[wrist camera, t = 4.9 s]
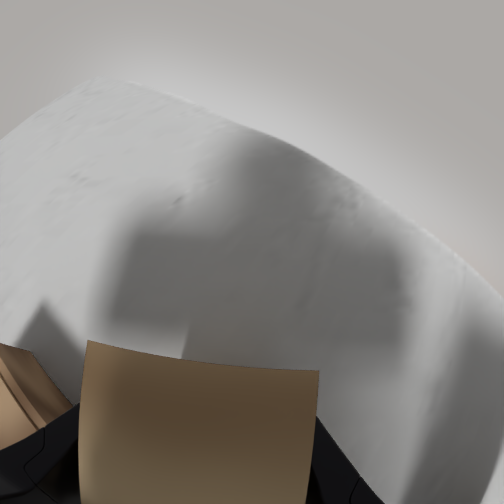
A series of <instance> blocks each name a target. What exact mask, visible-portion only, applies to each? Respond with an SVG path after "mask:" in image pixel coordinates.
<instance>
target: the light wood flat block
mask: <svg viewBox="0 0 504 504" xmlns="http://www.w3.org/2000/svg"><path fill="white" fill-rule="evenodd" d="M72 407H73V405H72V404H71V403H70V402H69V401H68V400H67V399H66V397H65V396H64V395H63V394H62V393H61V392H60V390H59V389H58V388H57V387H56V385H55V384H54V383H53V382H52V380H51V379H50V378H49V377H48V375H47V374H46V373H45V371H44V370H43V369H42V367H41V366H40V365H39V363H38V362H37V360H36V359H35V358H34V356H33V355H32V353H31V352H30V351H26V350H23V349H19V348H15V347H12V346H8V345H5V344H1V343H0V450H1V449H4V448H6V447H8V446H10V445H12V444H14V443H16V442H18V441H20V440H22V439H24V438H26V437H28V436H29V435H31V434H33V433H34V432H36V431H37V430H39V429H40V428H42V427H45V425H47V424H48V423H50V422H51V421H53V420H54V419H56V418H57V417H59V416H60V415H62V414H63V413H65V412H66V411H68V410H69V409H71V408H72Z"/></svg>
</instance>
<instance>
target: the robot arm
mask: <svg viewBox="0 0 504 504" xmlns="http://www.w3.org/2000/svg"><path fill="white" fill-rule="evenodd" d="M79 413H80V403H78V404H77V405H75V406H74V407H72V408H71V409H69V410H68V411H66V412H65V413H63V414H62V415H60V416H59V417H57V418H56V419H54V420H53V421H51V422H50V423H48V424H47V425H45V427H42V428H40V429H39V430H37V431H36V432H34V433H33V434H31V435H29V436H28V437H26V438H24V439H22V440H20V441H18V442H16V443H14V444H12V445H10V446H8V447H6V448H4V449H1V450H0V504H81V496H80V483H79V457H78V440H79ZM305 504H385V503H384V502H383V501H382V500H381V499H380V498H379V497H378V496H377V495H376V494H375V493H374V492H373V491H372V489H371V488H370V487H369V486H368V485H367V483H366V482H365V481H364V479H363V478H362V477H360V474H359V473H358V472H357V470H356V469H355V468H354V466H353V465H352V464H351V463H350V461H349V460H348V459H347V457H346V456H345V455H344V453H343V452H342V450H341V449H340V448H339V446H338V445H337V444H336V442H335V441H334V440H333V438H332V437H331V435H330V434H329V433H328V431H327V430H326V429H325V427H324V426H323V424H322V423H321V422H320V420H319V419H318V417H317V416H316V421H315V432H314V441H313V450H312V459H311V467H310V474H309V481H308V488H307V495H306V501H305Z"/></svg>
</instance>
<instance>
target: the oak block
mask: <svg viewBox="0 0 504 504" xmlns="http://www.w3.org/2000/svg"><path fill="white" fill-rule="evenodd" d="M318 381H319V371H314V370H282V369H265V368H251V367H240V366H229V365H220V364H212V363H204V362H196V361H189V360H182V359H176V358H170V357H164V356H158V355H153V354H147V353H142V352H137V351H132V350H128V349H123V348H119V347H114V346H110V345H106V344H102V343H98V342H94V341H90V340H88V341H87V347H86V354H85V361H84V369H83V377H82V387H81V398H80V413H79V440H78V457H79V483H80V496H81V504H305V501H306V495H307V488H308V481H309V474H310V467H311V459H312V450H313V441H314V432H315V421H316V409H317V396H318Z"/></svg>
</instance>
